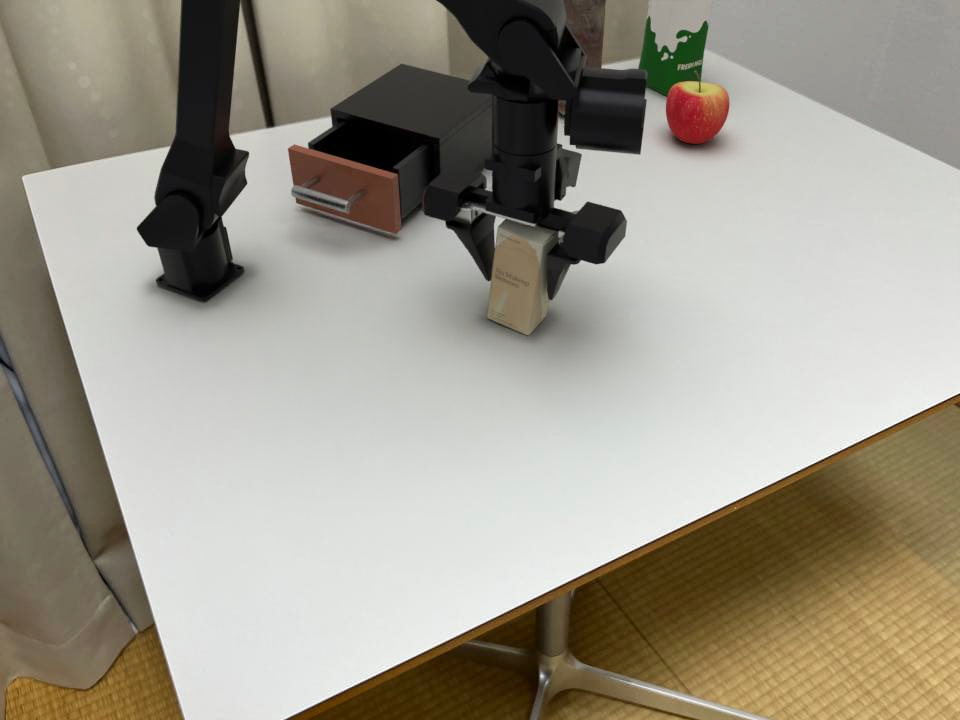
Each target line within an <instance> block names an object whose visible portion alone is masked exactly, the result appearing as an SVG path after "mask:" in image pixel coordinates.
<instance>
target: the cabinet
mask: <svg viewBox="0 0 960 720" xmlns="http://www.w3.org/2000/svg"><path fill="white" fill-rule="evenodd" d="M469 82H470V79H465V78H461V77H457V76H452V75H449V74H445V73H441V72H437V71H433V70H428V69H426V68H425V69H424V68H421V67H417V66H413V65H409V64H405V63H399V64H398V65H396V66H395V67H393V68H392V69H391V70H389V71H387V72H385V73H384V74H382V75H381V76H380V77H378V78H376V79H374V80H373V81H372V82H370V83H368V84H367V85H366V86H363V87H361V88H360V89H359V90H357V91H356V92H354V93H352V94H351V95H349V96H348V97H346V98H345V99H343V100H342V101H340V102H338V103H337V104H335V105H333V106H332V107H330V118H331V119H330V120H331V127H333V126H334V125H336V124H337V123H339V122H340V121H342V120H343V119H346V120H349V121H353V122H357V123H360V124H364V125H368V126H371V127H375V128H378V129H382V130H386V131H389V132H393V133H397V134H400V135H404V136H408V137H411V138H415V139H418V140H422V141H426V142H429V143H433V147H434V177H435V178H437V177H438V176H439V175H440V174H441V173H443V172H444V171H445V170H446V169H447V168H449V167H450V166H451V165H452V166H456V167H460V168H464V169H467V170H471V171H475V172H479V173H482V171H483V170H485V158H486V157H488V156H489V155H490V154H491V153H492V94H481V93H471V92H469V91H468V88H467V86H468V84H469Z"/></svg>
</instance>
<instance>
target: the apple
mask: <svg viewBox="0 0 960 720" xmlns="http://www.w3.org/2000/svg"><path fill="white" fill-rule="evenodd" d="M694 72H695V74H696V75H697V77H698V80H699V82H696V81H685V82H679V83H677V84H675V85H673V86H672V88H671V89H670V91H669V93H668V96H666V101H665V116H666V121H667V125H668V127H669V129H670V131H671V133H672V134H673V136H674V137H675V138H676V139H678V140H679V141H681V142H683V143H687V144H691V145H699V144H703V143H707V142H709V141H710V140H712V139H713V138H714V137H716V136H717V135H718V133H720V131H721V130H722V128H723V127H724V125H725V123H726V121H727V119H728V115H729V112H730V96H729V93H728V91H727V90H726V89H725V87H723V86H722V85H719V84H717V83H714V82H713V83H712V82H707V81H706V82H705V81H701V82H700V78H699V75H698V73H697V71H696V70H695V71H694Z"/></svg>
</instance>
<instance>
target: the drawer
mask: <svg viewBox="0 0 960 720" xmlns="http://www.w3.org/2000/svg"><path fill="white" fill-rule="evenodd" d="M287 152H288V153H287V154H288V159H289V167H290V171H291V172H290V173H291V179H292V185H293V186H292V187H291V190H290V194H291V196H292V197H293V198H295V204H298V205H301V206H304V207H307V208H309V209H313V210H317V211H320V212H323V213H326V214H329V215H333V216H335V217H339V218H342V219H345V220H349V221H352V222H354V223H359V224H361V225H365V226H368V227H371V228H373V229H378V230H381V231H384V232H387V233H390V234H392V235H393V234H394V235H397V234H398V233H399V232H401V231H402V220H404V218H406V217H407V216H408V215H409V214H410V213H411V212H412V211H414V210H415V209H416V208H417V207H418V206H420V205H421V204H422V194H423V191H424V188H425V187H426V186H427V185H428V184H430V183H431V182H432V181H433V180H434V179H435V177H434V147H433V143H429V142H426V141H422V140H418V139H415V138H411V137H408V136H404V135H400V134H397V133H393V132H389V131H386V130H382V129H378V128H375V127H371V126H368V125H364V124H360V123H357V122H353V121H349V120H346V119H343V120H342V121H340V122H339V123H337V124H336V125H334V126H333V127H332V126H331V127H330V128H327V129H326V130H325V131H324V132H322V133H320V134H318V135H317V136H316V137H314V138H313V139H311V140H309V141H308V142H307V147H305V146H302V145H298V144H295V143H294V144H292V145H291V146H289V147H288V148H287Z"/></svg>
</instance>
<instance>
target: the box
mask: <svg viewBox="0 0 960 720" xmlns="http://www.w3.org/2000/svg"><path fill="white" fill-rule="evenodd" d="M496 230H497V231H496V237H495V252H494V260H493V269H492V278H491V281H490V287H489V294H488V303H487V311H486V319H489V320H491V321H493V322H495V323H498V324H500V325H503V326H505V327H507V328H510V329H512V330H514V331H516V332H518V333H520V334H523V335H526V336H530V335H531V334H532V333H533V332H534V331H535V330H536V328H537V327H538V326H539V325H540V324H541V323H542V322H543V321H544V319H545V318H546V317H547V316H548V311H549V304H550V300H549V299H548V293H547V254H548V253H549V251H550V250H551V249H552V248H553V247H554V246H555V244H556V243H557V242H558V241H559V239H560V238H558V232H556V231H553V230H549V229H546V228H542V227H539V226H536V227H533V226H529V225H526V224H522V223H519V222H515V221H512V220H508V219H504V220H503V221H502V222H501V223H500V224H499V225H498V226H497V229H496Z"/></svg>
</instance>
